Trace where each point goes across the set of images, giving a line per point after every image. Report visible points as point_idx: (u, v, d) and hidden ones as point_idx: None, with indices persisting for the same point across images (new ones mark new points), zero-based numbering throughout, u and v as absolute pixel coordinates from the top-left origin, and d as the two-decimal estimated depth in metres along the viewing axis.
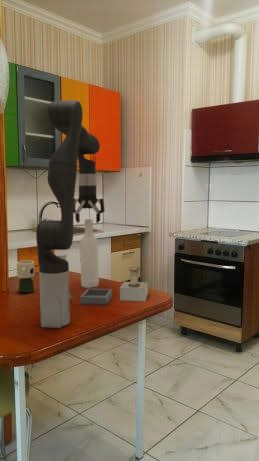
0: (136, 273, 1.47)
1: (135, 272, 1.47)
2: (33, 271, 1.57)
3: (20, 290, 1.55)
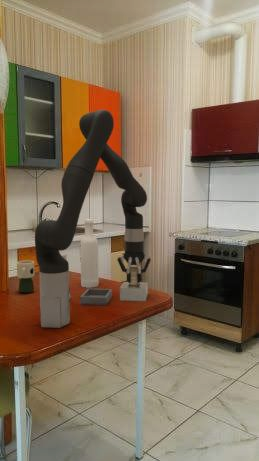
0: (136, 273, 1.47)
1: (135, 272, 1.47)
2: (33, 271, 1.57)
3: (20, 290, 1.55)
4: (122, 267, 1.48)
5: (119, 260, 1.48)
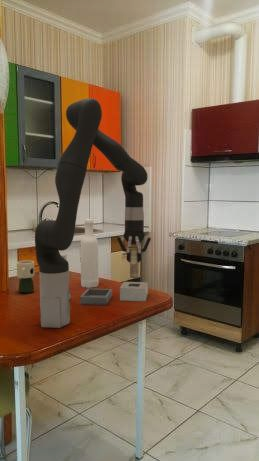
0: (136, 252, 1.46)
1: (135, 251, 1.46)
2: (33, 271, 1.57)
3: (20, 290, 1.55)
4: (122, 246, 1.47)
5: (119, 239, 1.47)
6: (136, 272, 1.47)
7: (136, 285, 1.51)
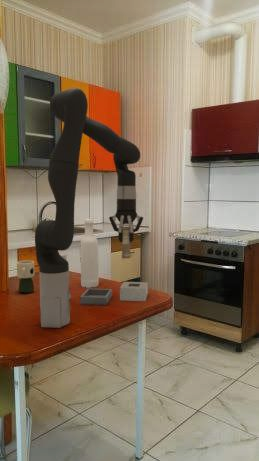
0: (128, 232, 1.44)
1: (127, 231, 1.44)
2: (33, 271, 1.57)
3: (20, 290, 1.55)
4: (114, 226, 1.45)
5: (111, 219, 1.45)
6: (128, 252, 1.45)
7: (136, 285, 1.51)
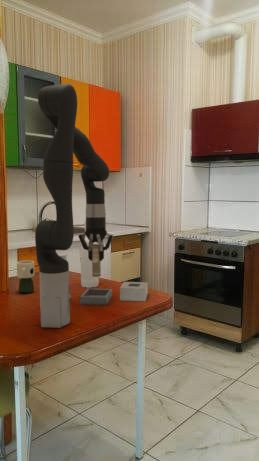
0: (98, 250, 1.42)
1: (97, 249, 1.42)
2: (33, 271, 1.57)
3: (20, 290, 1.55)
4: (83, 244, 1.43)
5: (80, 237, 1.42)
6: (98, 271, 1.43)
7: (136, 285, 1.51)
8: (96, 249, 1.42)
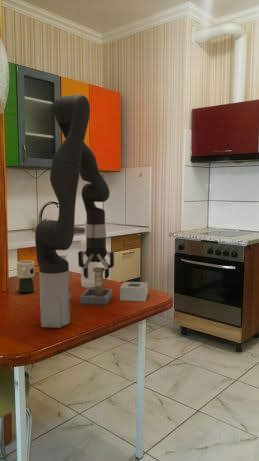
0: (100, 274, 1.43)
1: (99, 273, 1.43)
2: (33, 271, 1.57)
3: (20, 290, 1.55)
4: (80, 262, 1.44)
5: (79, 254, 1.43)
6: (101, 294, 1.44)
7: (136, 285, 1.51)
8: (99, 273, 1.43)
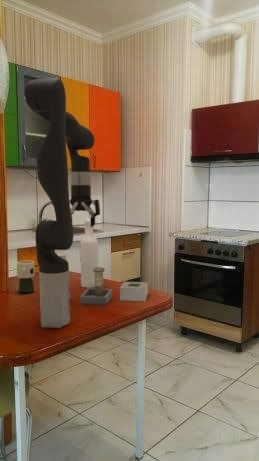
0: (100, 274, 1.43)
1: (99, 273, 1.43)
2: (33, 271, 1.57)
3: (20, 290, 1.55)
4: None
5: None
6: (101, 294, 1.44)
7: (136, 285, 1.51)
8: (99, 273, 1.43)
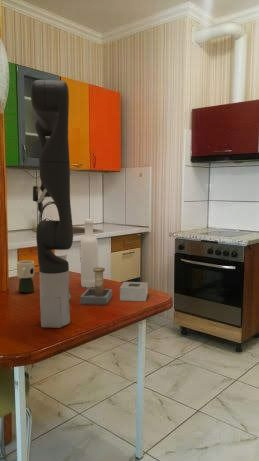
0: (101, 274, 1.43)
1: (99, 273, 1.43)
2: (33, 271, 1.57)
3: (20, 290, 1.55)
4: (34, 196, 1.45)
5: (34, 188, 1.45)
6: (101, 294, 1.44)
7: (136, 285, 1.51)
8: (99, 273, 1.43)
